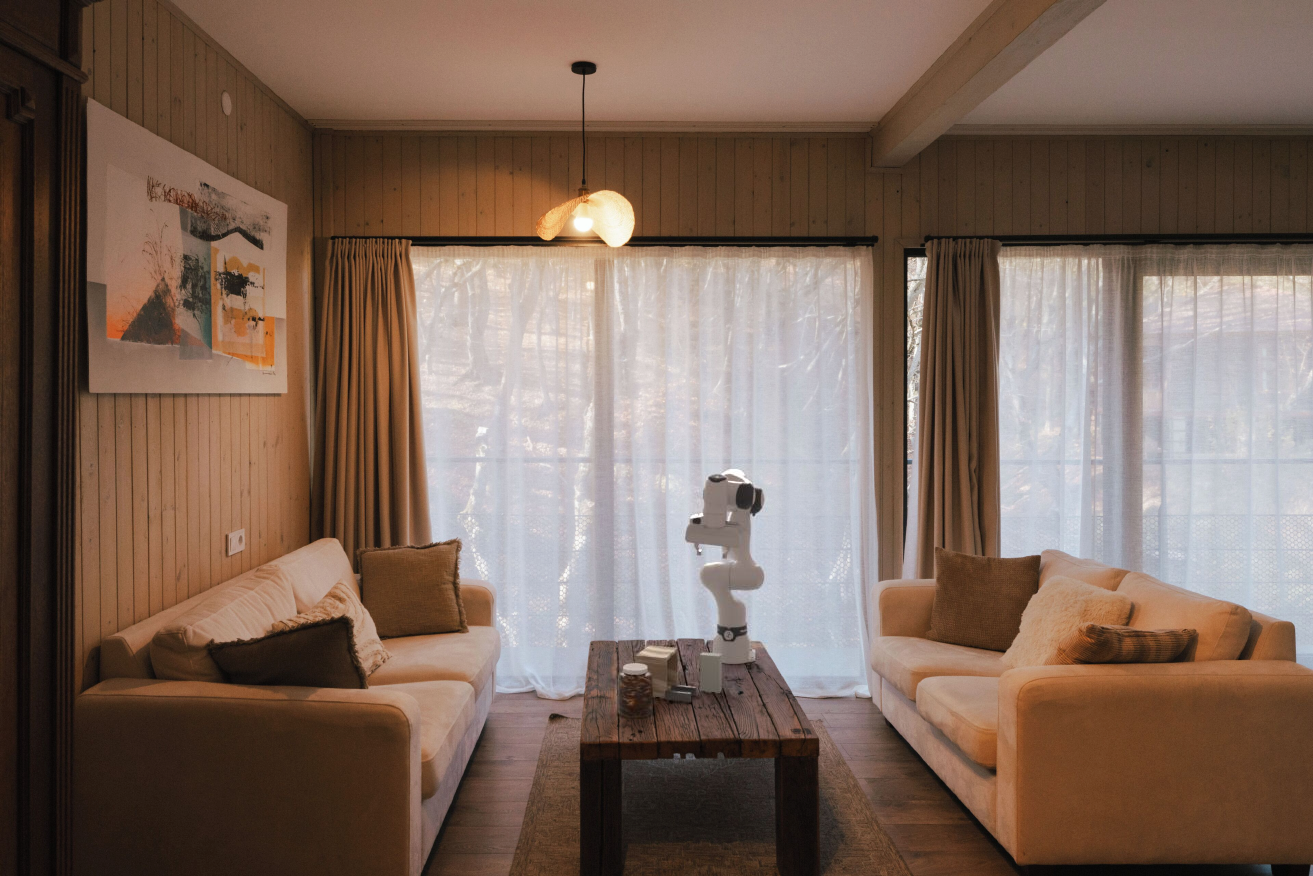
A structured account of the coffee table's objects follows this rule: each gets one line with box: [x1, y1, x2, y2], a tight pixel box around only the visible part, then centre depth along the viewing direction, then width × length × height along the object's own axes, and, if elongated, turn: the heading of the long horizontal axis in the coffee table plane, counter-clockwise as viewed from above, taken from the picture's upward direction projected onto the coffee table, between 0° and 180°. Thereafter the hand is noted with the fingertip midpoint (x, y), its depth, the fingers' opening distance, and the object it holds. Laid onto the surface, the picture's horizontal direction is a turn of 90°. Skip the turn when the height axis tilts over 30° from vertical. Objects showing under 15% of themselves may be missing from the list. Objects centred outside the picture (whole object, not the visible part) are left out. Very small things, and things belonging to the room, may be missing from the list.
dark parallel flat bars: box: [664, 684, 697, 703], centre depth 290 cm, size 8×9×3 cm
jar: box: [617, 662, 654, 719], centre depth 275 cm, size 12×12×15 cm
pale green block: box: [699, 651, 723, 694], centre depth 297 cm, size 4×7×13 cm, turn 72°
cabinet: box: [635, 645, 679, 699], centre depth 297 cm, size 14×11×14 cm
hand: (711, 556), depth 306 cm, fingers open, 8 cm apart
